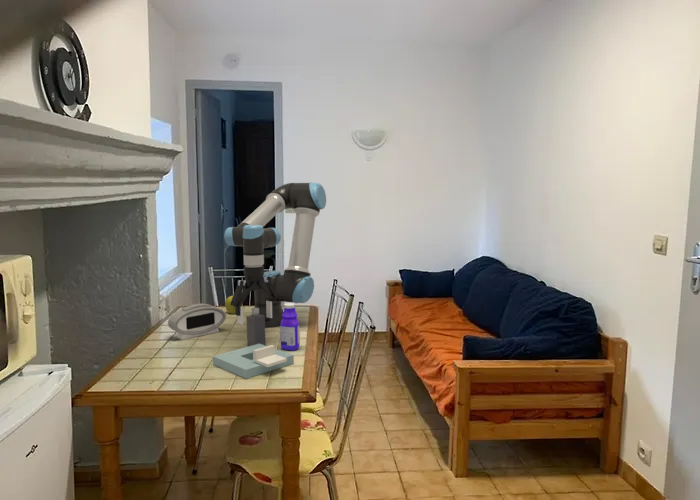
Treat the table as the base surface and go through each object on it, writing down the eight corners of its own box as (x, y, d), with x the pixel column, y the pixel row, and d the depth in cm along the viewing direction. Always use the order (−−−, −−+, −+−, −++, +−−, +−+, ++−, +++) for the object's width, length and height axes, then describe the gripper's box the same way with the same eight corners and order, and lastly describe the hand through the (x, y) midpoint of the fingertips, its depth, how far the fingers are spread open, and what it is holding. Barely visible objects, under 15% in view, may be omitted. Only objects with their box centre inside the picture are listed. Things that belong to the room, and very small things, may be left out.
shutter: (272, 356, 193) (271, 344, 192) (286, 361, 187) (286, 349, 187) (253, 361, 187) (252, 350, 187) (267, 367, 182) (267, 355, 181)
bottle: (302, 347, 213) (301, 302, 210) (296, 351, 207) (294, 306, 205) (284, 345, 215) (283, 301, 213) (278, 349, 210) (277, 304, 207)
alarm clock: (175, 342, 221) (173, 310, 220) (168, 338, 226) (166, 308, 224) (226, 330, 237) (225, 301, 235) (219, 327, 241) (218, 299, 240)
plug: (257, 343, 218) (256, 306, 216) (265, 346, 215) (264, 308, 213) (247, 346, 215) (246, 308, 213) (255, 349, 211) (253, 310, 209)
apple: (226, 308, 271) (231, 289, 270) (241, 313, 271) (246, 294, 269) (220, 312, 264) (226, 293, 262) (236, 317, 263) (241, 298, 261)
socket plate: (259, 351, 208) (259, 343, 208) (293, 363, 194) (293, 355, 194) (212, 364, 194) (212, 356, 194) (246, 378, 180) (245, 369, 180)
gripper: (273, 261, 222) (274, 313, 224) (219, 268, 204) (221, 324, 207) (285, 263, 217) (286, 316, 219) (231, 270, 199) (233, 328, 201)
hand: (255, 320), depth 213 cm, fingers open, 13 cm apart
